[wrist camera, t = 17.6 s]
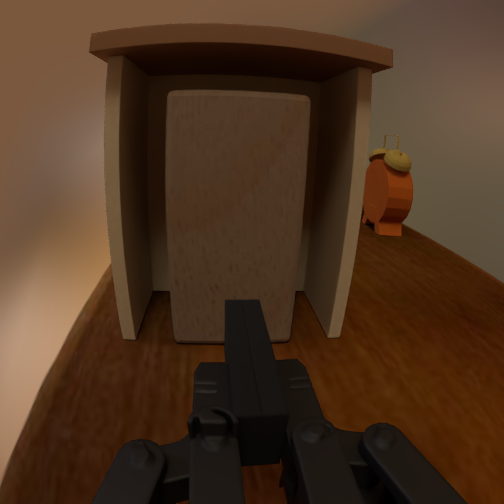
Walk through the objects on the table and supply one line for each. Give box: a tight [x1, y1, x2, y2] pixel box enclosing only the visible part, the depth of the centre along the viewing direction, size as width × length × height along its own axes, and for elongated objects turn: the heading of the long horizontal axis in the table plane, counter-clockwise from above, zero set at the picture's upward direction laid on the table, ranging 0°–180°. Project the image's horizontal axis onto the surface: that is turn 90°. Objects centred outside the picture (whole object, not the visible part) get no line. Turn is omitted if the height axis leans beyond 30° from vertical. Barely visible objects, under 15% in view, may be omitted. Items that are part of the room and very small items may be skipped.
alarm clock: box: [362, 135, 413, 236], centre depth 62 cm, size 13×6×20 cm, turn 2°
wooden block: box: [165, 90, 311, 343], centre depth 28 cm, size 10×10×20 cm
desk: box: [89, 23, 393, 340], centre depth 27 cm, size 13×21×24 cm, turn 96°
